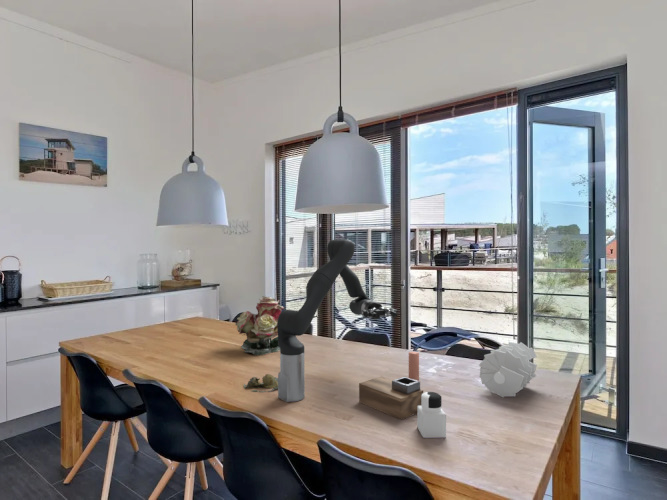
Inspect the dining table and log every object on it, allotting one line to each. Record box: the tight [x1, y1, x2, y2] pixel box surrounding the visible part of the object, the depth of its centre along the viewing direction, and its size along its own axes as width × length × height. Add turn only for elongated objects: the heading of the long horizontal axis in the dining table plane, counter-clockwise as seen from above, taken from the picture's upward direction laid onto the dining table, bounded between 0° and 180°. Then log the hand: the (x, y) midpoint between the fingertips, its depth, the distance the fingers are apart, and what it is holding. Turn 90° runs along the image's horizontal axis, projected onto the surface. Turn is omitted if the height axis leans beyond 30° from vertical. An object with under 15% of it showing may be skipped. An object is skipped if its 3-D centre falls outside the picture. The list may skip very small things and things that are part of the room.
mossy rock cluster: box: [243, 373, 278, 393], centre depth 167 cm, size 18×18×5 cm
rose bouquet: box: [235, 295, 286, 356], centre depth 225 cm, size 26×29×30 cm
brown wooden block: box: [358, 376, 424, 421], centre depth 144 cm, size 12×20×10 cm, turn 40°
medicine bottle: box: [416, 391, 447, 439], centre depth 123 cm, size 7×7×12 cm
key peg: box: [408, 351, 420, 381], centre depth 156 cm, size 4×4×16 cm
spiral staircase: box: [478, 341, 538, 399], centre depth 160 cm, size 18×18×25 cm
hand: (385, 315), depth 160 cm, fingers open, 8 cm apart
